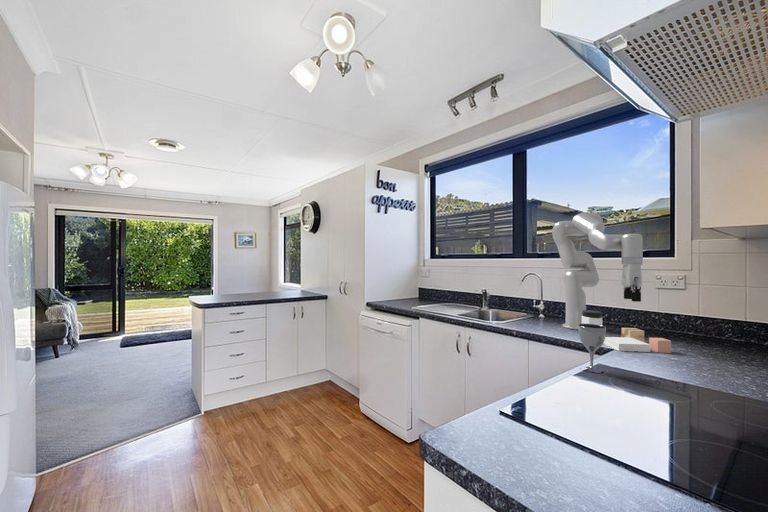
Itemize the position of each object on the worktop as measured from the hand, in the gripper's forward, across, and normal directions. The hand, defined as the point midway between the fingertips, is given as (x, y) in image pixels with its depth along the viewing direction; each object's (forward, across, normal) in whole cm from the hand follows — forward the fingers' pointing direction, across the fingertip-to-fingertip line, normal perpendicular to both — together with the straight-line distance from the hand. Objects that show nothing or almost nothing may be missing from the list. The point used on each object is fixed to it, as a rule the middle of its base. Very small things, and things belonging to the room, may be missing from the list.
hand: (632, 300), depth 146 cm
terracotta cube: (+20, +9, +7) cm, 23 cm away
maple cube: (+20, -4, +2) cm, 20 cm away
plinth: (+20, +7, -5) cm, 21 cm away
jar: (+20, -12, -13) cm, 26 cm away
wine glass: (+20, +45, -26) cm, 56 cm away
